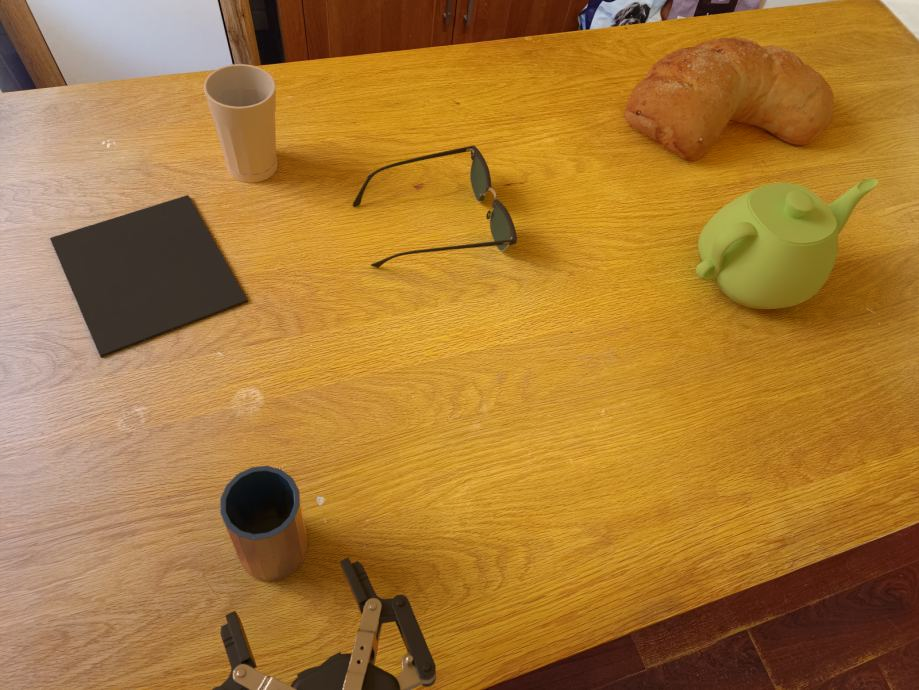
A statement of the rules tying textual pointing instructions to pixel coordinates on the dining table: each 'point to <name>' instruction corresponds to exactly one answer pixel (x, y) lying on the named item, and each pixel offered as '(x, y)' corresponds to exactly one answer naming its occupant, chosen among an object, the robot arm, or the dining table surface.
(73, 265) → the mat
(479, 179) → the sunglasses
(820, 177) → the dining table surface
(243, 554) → the tumbler
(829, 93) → the bread
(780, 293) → the teapot
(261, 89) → the cup
